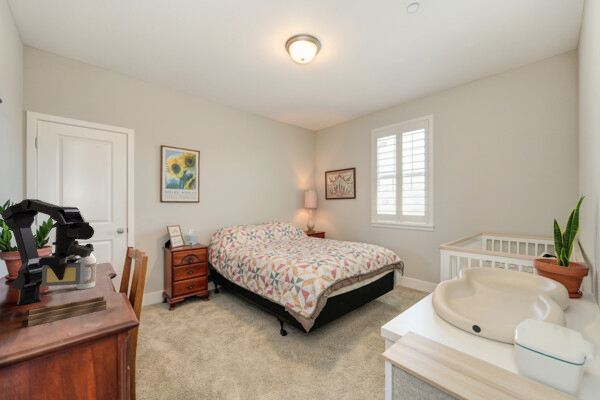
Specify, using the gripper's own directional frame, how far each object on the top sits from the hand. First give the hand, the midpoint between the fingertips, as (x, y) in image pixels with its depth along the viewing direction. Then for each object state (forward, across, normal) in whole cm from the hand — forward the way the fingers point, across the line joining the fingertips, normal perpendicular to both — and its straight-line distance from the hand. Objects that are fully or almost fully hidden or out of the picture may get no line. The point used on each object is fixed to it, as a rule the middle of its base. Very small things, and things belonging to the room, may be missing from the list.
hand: (63, 278), depth 97 cm
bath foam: (+10, +24, +3) cm, 26 cm away
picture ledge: (+10, -10, -7) cm, 16 cm away
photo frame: (+2, 0, 0) cm, 2 cm away
